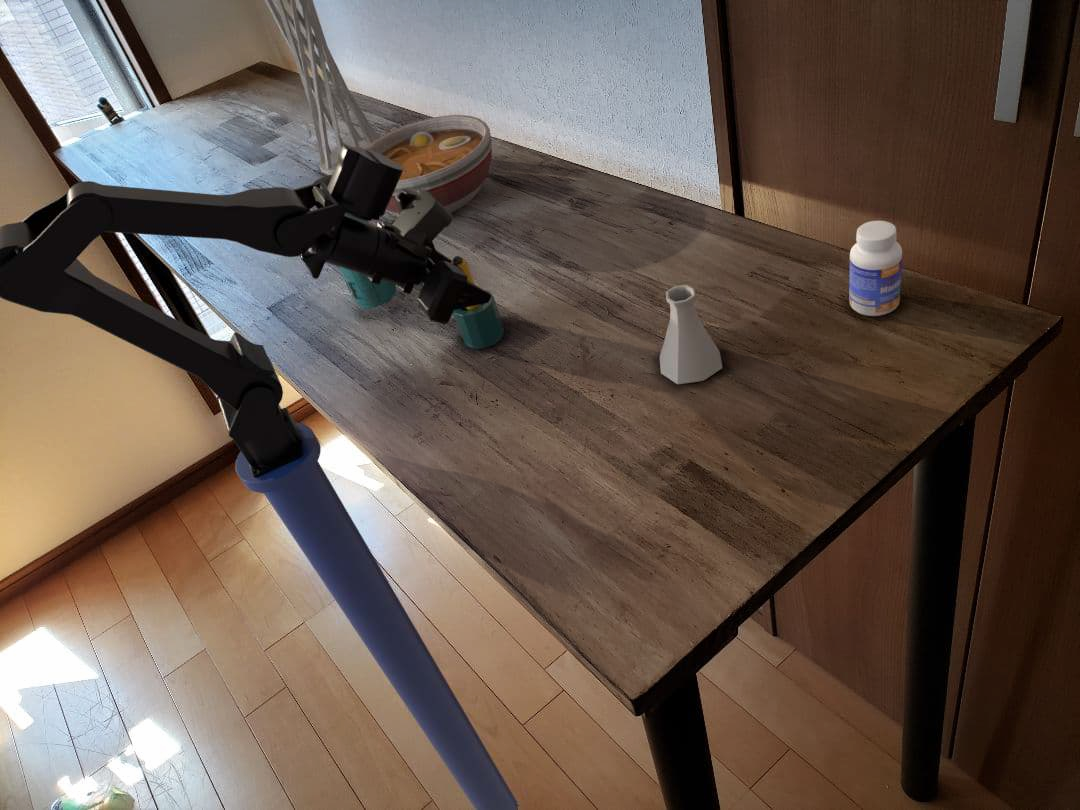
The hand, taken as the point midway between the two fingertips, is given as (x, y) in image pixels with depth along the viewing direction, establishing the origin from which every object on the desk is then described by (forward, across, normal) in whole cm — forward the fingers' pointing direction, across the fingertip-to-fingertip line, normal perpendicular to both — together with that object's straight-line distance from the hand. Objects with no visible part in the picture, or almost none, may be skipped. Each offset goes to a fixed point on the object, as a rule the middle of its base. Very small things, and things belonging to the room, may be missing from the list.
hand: (478, 286), depth 105 cm
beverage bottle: (-2, +19, +12) cm, 22 cm away
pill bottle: (+31, -29, -21) cm, 47 cm away
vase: (+7, +73, +3) cm, 73 cm away
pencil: (+4, 0, +6) cm, 7 cm away
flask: (+16, -23, -5) cm, 29 cm away
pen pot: (+4, 0, +6) cm, 7 cm away
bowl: (+11, +40, -1) cm, 42 cm away
